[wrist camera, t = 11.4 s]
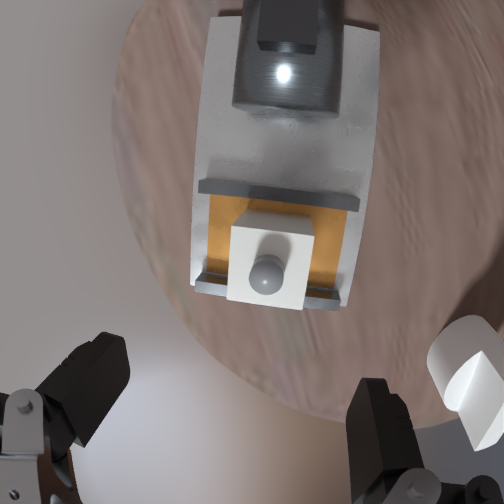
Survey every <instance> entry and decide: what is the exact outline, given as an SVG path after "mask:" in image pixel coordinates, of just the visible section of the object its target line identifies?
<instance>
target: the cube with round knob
mask: <svg viewBox="0 0 504 504" xmlns="http://www.w3.org/2000/svg"><path fill="white" fill-rule="evenodd" d="M314 237H315V236H314V231H313V227H312V222H311V218H310V216H305V215H297V214H289V213H281V212H273V211H265V210H256V209H246V210H245V211H244V212H243V214H242V215H241V216H240V217H239V218H238V219H237V220H236V221H235V222H234V223H233V225H232V226H231V239H230V253H229V269H228V285H227V300H233V301H239V302H246V303H253V304H260V305H267V306H274V307H282V308H290V309H297V310H302V308H303V303H304V297H305V292H306V286H307V280H308V275H309V269H310V262H311V256H312V250H313V244H314Z"/></svg>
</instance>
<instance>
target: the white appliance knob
mask: <svg viewBox="0 0 504 504" xmlns="http://www.w3.org/2000/svg"><path fill="white" fill-rule="evenodd" d="M427 366H428V370H429V372H430V374H431V376H432V378H433V380H434V382H435V384H436V387H437V389H438V391H439V393H440V395H441V397H442V400H443V402H444V404H445V405H446V407H447V408H448V409H450V410H452V411H457V412H458V414H459V416H460V418H461V421H462V423H463V425H464V427H465V429H466V432H467V434H468V437H469V439H470V441H471V444H472V447H473V449H474V451H478V450H481V449H484V448H487V447H489V446H491V445H493V444H495V443H497V441H498V440H499V438H500V437H501V435H502V434H503V432H504V340H503V339H502V338H501V337H500V336H499V335H498V333H497V332H496V331H495V330H494V329H493V328H492V327H491V326H490V324H489V323H488V322H487V321H486V320H485V319H484V318H483V317H481V316H478V315H468V316H464V317H461V318H459V319H457V320H455V321H454V322H452V323H451V324H449V325H448V326H447V327H446V328H444V329H443V330H442V332H441V333H440V334H439V335H438V336H437V337H436V339H435V340H434V342H433V344H432V345H431V347H430V350H429V352H428V356H427Z"/></svg>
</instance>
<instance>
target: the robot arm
mask: <svg viewBox="0 0 504 504" xmlns="http://www.w3.org/2000/svg"><path fill="white" fill-rule="evenodd" d="M129 378H130V366H129V361H128V356H127V350H126V345H125V340H124V338H123V337H121V336H118V335H114V334H111V333H107V332H101V333H100V334H99V335H98V336H97V337H96V338H95V339H94V340H93V341H92V342H90V341H88V342H86V343H84V344H82V345H80V346H78V347H77V348H76V349H74V351H72V353H70V354H69V355H68V358H66V359H65V360H64V361H63V362H62V363H61V365H59V366H58V367H57V368H56V369H55V370H54V371H53V372H52V373H51V374H50V375H49V376H48V377H47V378H46V379H45V380H44V381H43V382H42V383H41V384H40V385H39V386H38V387H37V388H36V389H35V390H31V389H20V390H17V391H15V392H14V393H12V394H11V395H8V394H4V393H0V504H83V503H82V501H81V499H80V496H79V493H78V489H77V484H76V479H75V473H74V468H73V462H72V455H71V450H70V446H71V445H72V443H73V442H74V443H76V444H78V445H80V446H81V447H84V448H85V446H86V445H87V443H88V442H89V440H90V439H91V437H92V436H93V434H94V433H95V431H96V430H97V428H98V427H99V425H100V424H101V422H102V421H103V419H104V418H105V416H106V415H107V413H108V412H109V410H110V409H111V407H112V406H113V405H114V403H115V402H116V400H117V399H118V397H119V396H120V394H121V393H122V391H123V390H124V389H125V387H126V386H127V384H128V381H129ZM346 432H347V442H348V454H349V466H350V482H351V499H352V500H351V501H352V504H504V503H503V499H502V495H501V492H500V488H499V485H498V483H497V482H496V481H495V480H494V479H493V478H491V477H489V476H485V475H480V476H477V477H475V478H473V479H472V480H470V481H469V482H468V483H467V484H466V485H460V484H450V483H442V482H440V480H439V479H438V477H437V476H436V475H435V474H434V473H433V472H431V471H430V470H427V469H425V468H424V465H423V461H422V457H421V453H420V450H419V446H418V443H417V439H416V436H415V432H414V429H413V425H412V422H411V419H410V416H409V412H408V409H407V406H406V404H405V403H404V402H403V400H402V399H401V398H400V397H399V396H398V394H390V392H389V388H388V385H387V382H386V380H385V379H384V378H362V379H361V380H360V382H359V385H358V387H357V389H356V392H355V394H354V396H353V399H352V401H351V403H350V406H349V408H348V411H347V415H346Z"/></svg>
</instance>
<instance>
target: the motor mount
mask: <svg viewBox="0 0 504 504" xmlns="http://www.w3.org/2000/svg"><path fill="white" fill-rule="evenodd" d="M379 71H380V32H377V31H373V30H368V29H363V28H359V27H354V26H348V25H344V0H243V8H242V16H227V17H211V19H210V25H209V32H208V39H207V46H206V54H205V62H204V70H203V78H202V87H201V96H200V106H199V117H198V128H197V140H196V153H195V168H194V184H193V204H192V230H191V277H190V285H193V286H195V292H201V293H207V294H214V295H220V296H226V297H227V285H228V269H229V253H230V239H231V226H232V225H233V223H234V222H235V221H236V220H237V219H238V218H239V217H240V216H241V215H242V214H243V212H244V211H245V210H246V209H256V210H265V211H273V212H281V213H289V214H297V215H305V216H310V218H311V222H312V227H313V231H314V236H315V237H314V244H313V250H312V256H311V262H310V269H309V275H308V280H307V286H306V292H305V297H304V303H303V307H305V308H313V309H322V310H331V311H339V307H340V306H346V304H347V300H348V296H349V292H350V288H351V283H352V279H353V274H354V270H355V265H356V260H357V256H358V251H359V246H360V240H361V235H362V230H363V224H364V218H365V212H366V206H367V200H368V193H369V186H370V179H371V171H372V163H373V155H374V145H375V135H376V124H377V111H378V95H379Z"/></svg>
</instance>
